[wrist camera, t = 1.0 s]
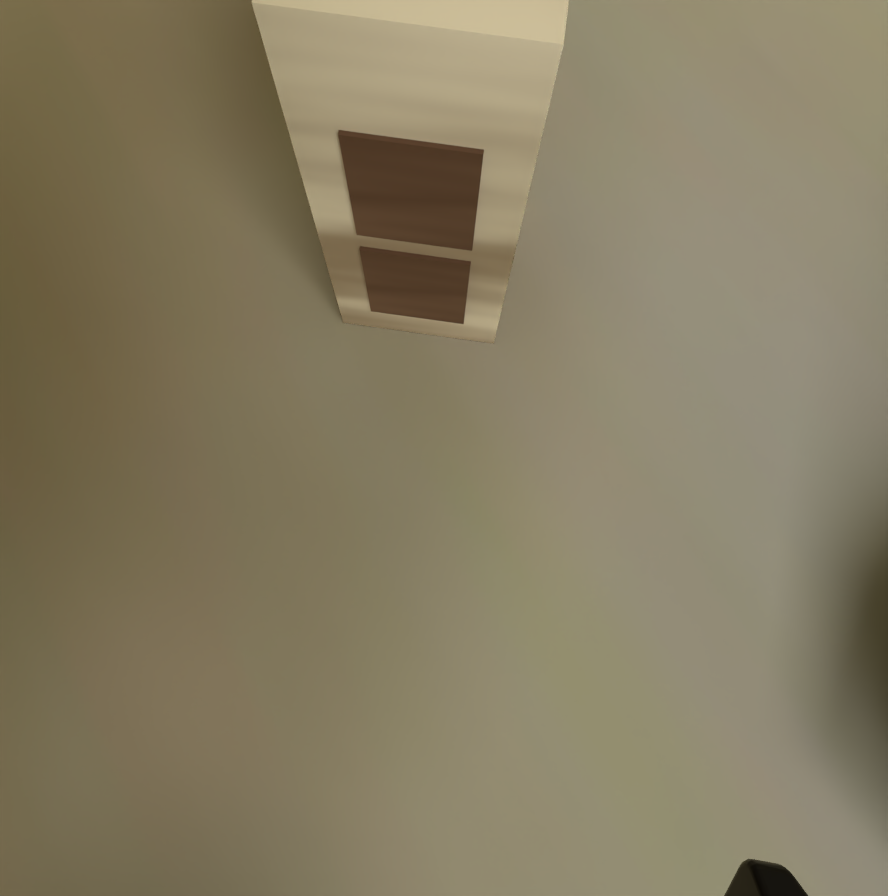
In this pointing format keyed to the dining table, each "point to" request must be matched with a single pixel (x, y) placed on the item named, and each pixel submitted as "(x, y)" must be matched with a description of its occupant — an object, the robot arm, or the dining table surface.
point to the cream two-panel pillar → (416, 146)
